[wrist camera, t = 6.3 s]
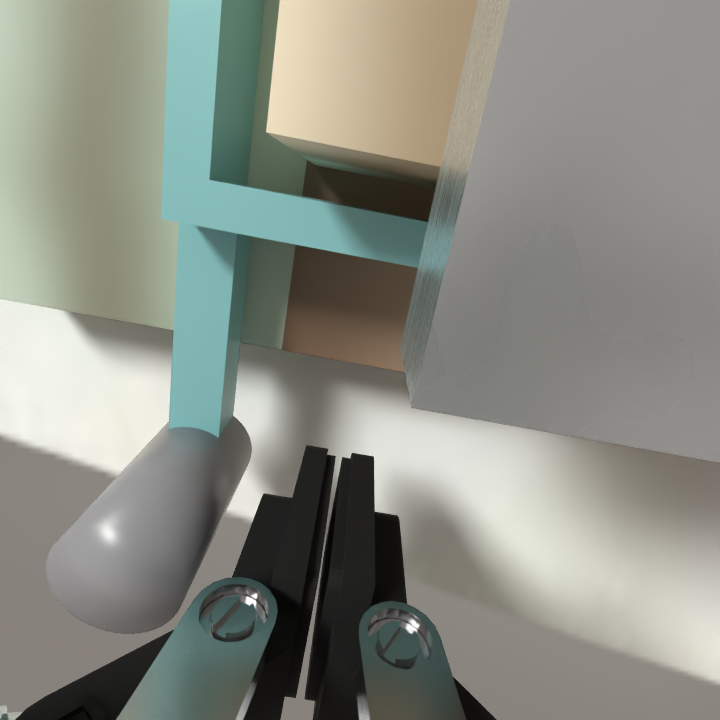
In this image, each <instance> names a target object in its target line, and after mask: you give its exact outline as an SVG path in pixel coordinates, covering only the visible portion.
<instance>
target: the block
mask: <svg viewBox="0 0 720 720" xmlns="http://www.w3.org/2000/svg"><path fill="white" fill-rule="evenodd" d="M477 1H478V0H280V3H279V13H278V22H277V32H276V42H275V51H274V61H273V71H272V80H271V90H270V99H269V109H268V119H267V128H266V133H268V134H269V135H271V136H272V137H274V138H275V139H277V140H278V141H280V142H281V143H283V144H284V145H286V146H287V147H289V148H290V149H292V150H293V151H295V152H296V153H298V154H299V155H301V156H302V157H304V158H305V159H307V160H308V161H310V162H311V163H313V164H314V165H317V166H322V167H327V168H332V169H337V170H342V171H347V172H352V173H357V174H362V175H367V176H372V177H378V178H383V179H388V180H393V181H398V182H403V183H408V184H413V185H418V186H423V187H428V188H434V189H436V184H437V180H438V175H439V171H440V166H441V162H442V157H443V153H444V148H445V144H446V139H447V135H448V130H449V126H450V121H451V117H452V113H453V108H454V104H455V99H456V95H457V90H458V86H459V81H460V77H461V72H462V68H463V63H464V59H465V54H466V50H467V45H468V41H469V36H470V32H471V27H472V23H473V18H474V14H475V10H476V5H477Z"/></svg>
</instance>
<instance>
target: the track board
mask: <svg viewBox="0 0 720 720" xmlns="http://www.w3.org/2000/svg"><path fill="white" fill-rule="evenodd" d="M279 3H280V0H265V3H264V14H263V24H262V35H261V46H260V56H259V67H258V77H257V88H256V98H255V109H254V119H253V130H252V140H251V151H250V161H249V172H248V183H247V185H248V186H253V187H258V188H263V189H268V190H273V191H279V192H284V193H289V194H294V195H299V196H304V197H309V198H315V199H320V200H325V201H330V202H335V203H340V204H346V205H351V206H356V207H361V208H366V209H371V210H376V211H382V212H387V213H392V214H397V215H402V216H407V217H413V218H418V219H423V220H429V216H430V211H431V207H432V202H433V198H434V193H435V189H434V188H428V187H423V186H418V185H413V184H408V183H403V182H398V181H393V180H388V179H383V178H378V177H372V176H367V175H362V174H357V173H352V172H347V171H342V170H337V169H332V168H327V167H322V166H317V165H314V164H313V163H311V162H310V161H308V160H307V159H305V158H304V157H302V156H301V155H299V154H298V153H296V152H295V151H293V150H292V149H290V148H289V147H287V146H286V145H284V144H283V143H281V142H280V141H278V140H277V139H275V138H274V137H272V136H271V135H269V134H268V133H266V128H267V119H268V109H269V99H270V90H271V80H272V71H273V61H274V51H275V42H276V32H277V22H278V13H279ZM168 18H169V0H0V299H4V300H9V301H15V302H20V303H26V304H31V305H37V306H42V307H48V308H53V309H59V310H64V311H70V312H75V313H81V314H86V315H92V316H97V317H103V318H108V319H114V320H119V321H125V322H130V323H136V324H141V325H147V326H153V327H158V328H164V329H169V330H174V311H175V291H176V271H177V251H178V231H179V222H174V221H169V220H164V219H161V206H162V179H163V152H164V125H165V99H166V72H167V45H168ZM417 269H418V268H416V267H411V266H406V265H400V264H395V263H390V262H385V261H379V260H374V259H369V258H364V257H358V256H353V255H348V254H342V253H337V252H332V251H327V250H321V249H316V248H311V247H306V246H300V245H295V244H290V243H285V242H279V241H274V240H269V239H264V238H258V237H253V236H251V243H250V252H249V262H248V272H247V282H246V292H245V302H244V312H243V322H242V332H241V343H246V344H252V345H257V346H263V347H268V348H274V349H279V350H285V351H290V352H296V353H301V354H307V355H312V356H318V357H323V358H329V359H334V360H340V361H345V362H351V363H356V364H362V365H367V366H373V367H378V368H384V369H389V370H395V371H400V372H404V367H403V362H402V357H401V351H400V346H401V341H402V337H403V332H404V328H405V323H406V319H407V314H408V310H409V305H410V301H411V296H412V292H413V287H414V283H415V278H416V274H417Z"/></svg>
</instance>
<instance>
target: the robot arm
mask: <svg viewBox="0 0 720 720" xmlns="http://www.w3.org/2000/svg"><path fill="white" fill-rule="evenodd" d="M327 452H328V449H326V448H320V447H314V446H308V445H306V449H305V453H304V456H303V460H302V464H301V468H300V471H299V475H298V479H297V483H296V486H295V490H294V494H293V498H288V497H282V496H276V495H270V494H263V496H262V498H261V501H260V504H259V506H258V509H257V512H256V514H255V517H254V520H253V522H252V525H251V528H250V531H249V533H248V536H247V539H246V541H245V544H244V547H243V549H242V552H241V555H240V558H239V560H238V563H237V566H236V568H235V571H234V574H233V576H232V578H225V579H222V580H219V581H216V582H213V583H212V584H210V585H209V586H207V587H206V588H204V589H203V590H202V591H201V592H200V593H199V594H198V595H197V597H196V598H195V599H194V600H193V602H192V603H191V605H190V606H189V608H188V609H187V611H186V613H185V614H184V616H183V617H182V619H181V621H180V622H179V623H178V625H177V627H176V628H175V629H174V630H172V631H171V632H168V633H166V634H165V635H163V636H161V637H159V638H157V639H155V640H153V641H151V642H149V643H147V644H145V645H143V646H142V647H140V648H138V649H136V650H134V651H132V652H130V653H128V654H126V655H124V656H122V657H120V658H118V659H116V660H115V661H113V662H111V663H109V664H107V665H105V666H103V667H101V668H99V669H97V670H95V671H93V672H92V673H90V674H88V675H86V676H84V677H82V678H80V679H78V680H76V681H74V682H72V683H70V684H68V685H67V686H65V687H63V688H61V689H59V690H57V691H55V692H53V693H51V694H49V695H47V696H45V697H44V698H42V699H41V700H39V701H38V702H36V703H35V704H33V705H31V706H30V707H28V708H27V709H26V710H25V711H24V712H15V713H7V705H5V706H0V720H280V718H281V713H282V708H283V702H284V697H285V696H286V697H293V698H296V694H297V689H298V684H299V678H300V673H301V667H302V662H303V657H304V652H305V647H306V642H307V636H308V631H309V626H310V621H311V615H312V610H313V604H314V600H315V595H316V589H317V584H318V578H319V572H320V565H321V558H322V551H323V544H324V537H325V530H326V522H327V515H328V508H329V501H330V494H331V486H332V479H333V472H334V465H335V458H336V456H332V455H327ZM305 699H306V700H313V701H315V705H314V715H313V720H496V719H495V718H494V717H493V716H492V715H491V714H490V713H489V712H488V711H487V710H486V709H485V708H484V707H483V706H482V705H481V704H480V703H479V702H478V701H477V700H476V699H475V698H474V697H473V696H472V695H471V694H470V693H469V692H468V691H467V690H466V689H465V688H464V687H463V686H462V685H461V684H460V683H459V682H458V681H457V680H456V679H455V678H454V677H453V676H452V673H451V670H450V667H449V663H448V660H447V657H446V654H445V651H444V648H443V644H442V641H441V638H440V636H439V634H438V632H437V629H436V627H435V626H434V624H433V623H432V622H431V621H430V620H429V619H428V617H427V616H426V615H424V614H423V613H422V612H420V611H419V610H418V609H416V608H414V607H412V606H410V605H408V604H407V599H406V589H405V577H404V566H403V555H402V544H401V533H400V522H399V517H398V516H397V515H391V514H385V513H379V512H375V510H374V457H373V456H367V455H361V454H356V453H352V454H351V458H344V457H342V462H341V467H340V472H339V477H338V483H337V488H336V493H335V498H334V503H333V509H332V514H331V519H330V524H329V530H328V535H327V540H326V545H325V551H324V557H323V564H322V572H321V579H320V587H319V595H318V602H317V609H316V617H315V624H314V632H313V639H312V647H311V654H310V661H309V669H308V676H307V684H306V692H305Z"/></svg>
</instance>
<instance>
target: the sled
mask: <svg viewBox="0 0 720 720" xmlns="http://www.w3.org/2000/svg"><path fill="white" fill-rule="evenodd" d="M264 3H265V0H169V18H168V45H167V72H166V99H165V125H164V152H163V179H162V206H161V219H164V220H169V221H174V222H179V231H178V251H177V271H176V291H175V311H174V331H173V351H172V371H171V391H170V412H169V422H168V423H167V424H166V425H165V426H164V427H163V428H162V429H161V430H160V432H159V433H158V434H157V435H156V436H155V437H154V438H153V439H152V440H151V441H150V442H149V443H148V444H147V445H146V447H145V448H144V449H143V450H142V451H141V452H140V453H139V454H138V455H137V456H136V457H135V458H134V459H133V460H132V462H131V463H130V464H129V465H128V466H127V467H126V468H125V469H124V470H123V471H122V472H121V473H120V474H119V475H118V477H117V478H116V479H115V480H114V481H113V482H112V483H111V484H110V485H109V486H108V487H107V488H106V490H105V491H104V492H103V493H102V494H101V495H100V496H99V497H98V498H97V499H96V500H95V501H94V502H93V503H92V504H91V506H90V507H89V508H88V509H87V510H86V511H85V512H84V513H83V514H82V515H81V516H80V517H79V518H78V519H77V521H76V522H75V523H74V524H73V525H72V526H71V527H70V528H69V529H68V530H67V531H66V533H64V535H63V536H62V537H61V538H60V539H59V540H58V541H57V542H56V543H55V544H54V545H53V547H52V549H51V550H50V552H49V555H48V557H47V562H46V576H47V580H48V584H49V586H50V589H51V590H52V592H53V594H54V596H55V597H56V599H57V600H58V601H59V602H60V604H61V605H62V606H63V607H64V608H65V609H66V610H67V611H68V612H70V613H71V614H72V615H74V616H75V617H76V618H78V619H79V620H81V621H83V622H85V623H87V624H89V625H91V626H93V627H96V628H98V629H102V630H105V631H110V632H114V633H123V634H135V633H143V632H148V631H151V630H154V629H156V628H159V627H161V626H163V625H164V624H166V623H167V622H168V621H170V620H171V619H172V618H173V617H174V616H175V614H176V613H177V612H178V610H179V608H180V607H181V605H182V602H183V600H184V598H185V596H186V594H187V592H188V590H189V588H190V586H191V584H192V581H193V579H194V577H195V575H196V573H197V571H198V568H199V567H200V565H201V562H202V560H203V558H204V556H205V554H206V552H207V550H208V548H209V546H210V543H211V541H212V539H213V537H214V535H215V533H216V531H217V529H218V526H219V525H220V522H221V520H222V518H223V516H224V514H225V512H226V510H227V508H228V506H229V504H230V501H231V499H232V497H233V495H234V493H235V491H236V489H237V487H238V485H239V482H240V480H241V478H242V476H243V474H244V472H245V470H246V468H247V466H248V464H249V461H250V458H251V452H252V447H251V441H250V437H249V435H248V433H247V431H246V429H245V428H244V426H243V425H242V424H241V423H240V422H239V421H238V420H237V419H236V418H235V417H234V416H233V411H234V401H235V391H236V381H237V371H238V361H239V351H240V342H241V332H242V322H243V312H244V302H245V292H246V282H247V272H248V262H249V252H250V243H251V236H253V237H258V238H264V239H269V240H274V241H279V242H285V243H290V244H295V245H300V246H306V247H311V248H316V249H321V250H327V251H332V252H337V253H342V254H348V255H353V256H358V257H364V258H369V259H374V260H379V261H385V262H390V263H395V264H400V265H406V266H411V267H416V268H418V265H419V260H420V256H421V251H422V247H423V242H424V238H425V234H426V229H427V225H428V220H423V219H418V218H413V217H407V216H402V215H397V214H392V213H387V212H382V211H376V210H371V209H366V208H361V207H356V206H351V205H346V204H340V203H335V202H330V201H325V200H320V199H315V198H309V197H304V196H299V195H294V194H289V193H284V192H279V191H273V190H268V189H263V188H258V187H253V186H248V185H247V183H248V172H249V161H250V151H251V140H252V130H253V119H254V109H255V98H256V88H257V77H258V67H259V56H260V46H261V35H262V24H263V14H264Z"/></svg>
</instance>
